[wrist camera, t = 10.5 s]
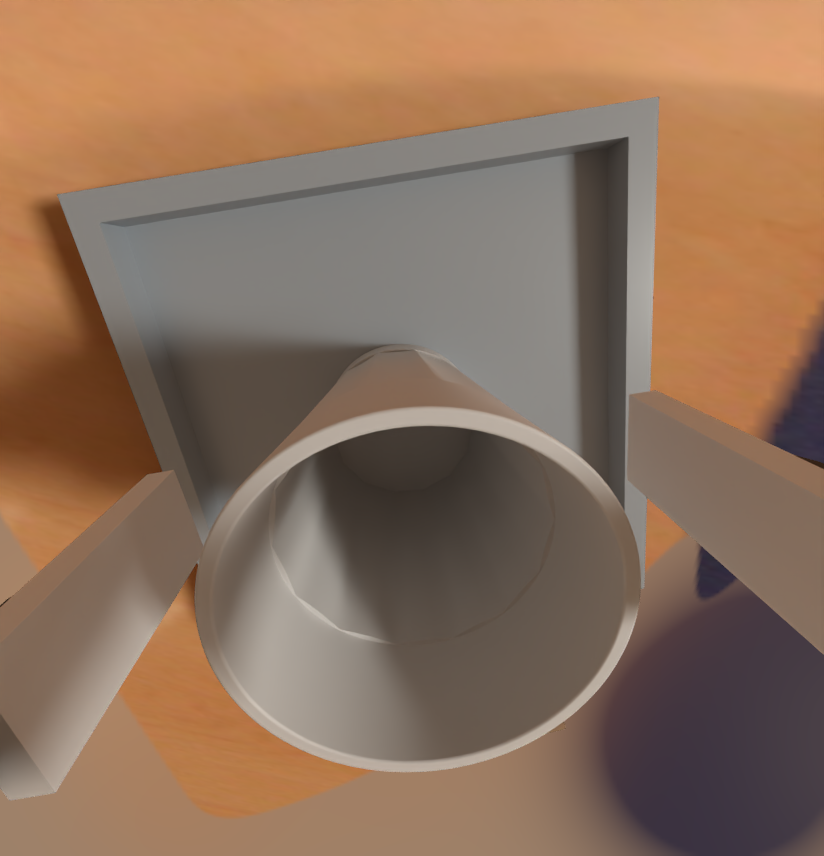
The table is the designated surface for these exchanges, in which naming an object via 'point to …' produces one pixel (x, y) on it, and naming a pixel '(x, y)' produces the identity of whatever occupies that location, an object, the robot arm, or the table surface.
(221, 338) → the tray
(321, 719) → the cup
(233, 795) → the table surface
